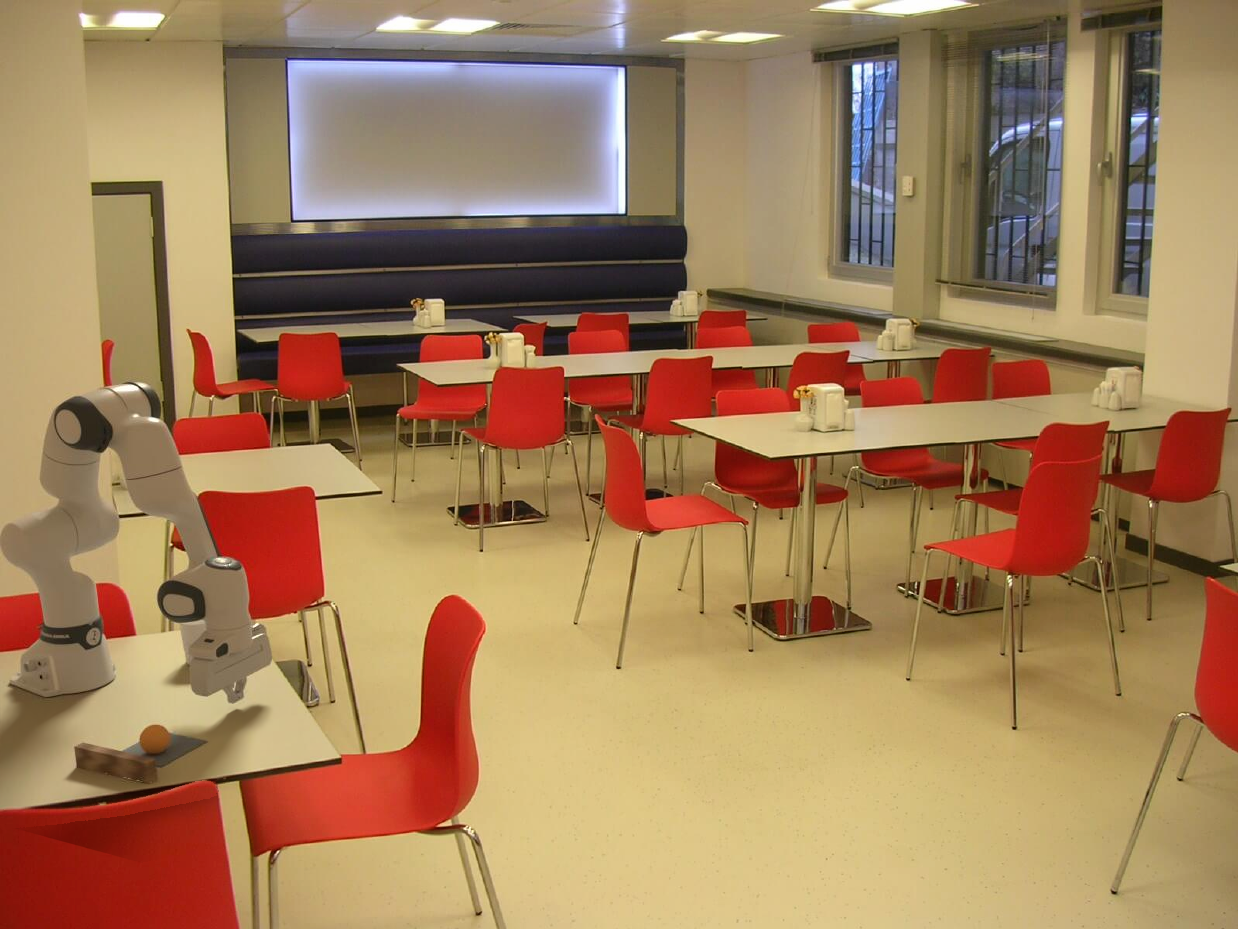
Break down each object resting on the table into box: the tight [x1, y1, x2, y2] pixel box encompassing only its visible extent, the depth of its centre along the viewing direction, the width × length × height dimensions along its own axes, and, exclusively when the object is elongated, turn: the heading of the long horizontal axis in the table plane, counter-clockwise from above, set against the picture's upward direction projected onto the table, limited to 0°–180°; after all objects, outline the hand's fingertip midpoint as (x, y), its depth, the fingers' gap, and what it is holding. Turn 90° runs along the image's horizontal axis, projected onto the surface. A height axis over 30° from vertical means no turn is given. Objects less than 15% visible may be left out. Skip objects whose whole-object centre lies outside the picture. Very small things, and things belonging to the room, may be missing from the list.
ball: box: [138, 724, 170, 754], centre depth 250 cm, size 6×6×6 cm
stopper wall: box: [73, 742, 158, 785], centre depth 242 cm, size 18×2×4 cm, turn 64°
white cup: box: [179, 620, 206, 666], centre depth 296 cm, size 8×8×10 cm
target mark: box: [122, 732, 208, 768], centre depth 252 cm, size 12×12×1 cm
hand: (235, 700), depth 270 cm, fingers closed
